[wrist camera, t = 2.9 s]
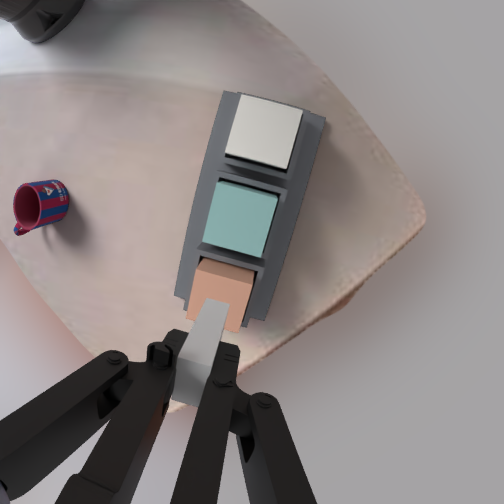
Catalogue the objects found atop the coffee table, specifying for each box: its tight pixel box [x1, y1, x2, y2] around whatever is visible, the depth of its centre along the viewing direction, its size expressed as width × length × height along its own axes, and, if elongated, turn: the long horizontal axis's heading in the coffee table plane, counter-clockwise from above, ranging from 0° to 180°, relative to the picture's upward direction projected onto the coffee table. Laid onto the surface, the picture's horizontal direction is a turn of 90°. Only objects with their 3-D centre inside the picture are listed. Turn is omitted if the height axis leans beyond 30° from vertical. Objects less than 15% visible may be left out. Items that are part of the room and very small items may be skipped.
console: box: [174, 91, 326, 328], centre depth 35 cm, size 28×13×6 cm, turn 165°
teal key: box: [202, 181, 278, 258], centre depth 31 cm, size 6×6×5 cm
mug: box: [13, 180, 69, 236], centre depth 35 cm, size 7×10×7 cm
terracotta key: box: [186, 257, 254, 333], centre depth 33 cm, size 6×6×5 cm
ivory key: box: [225, 94, 303, 169], centre depth 29 cm, size 6×6×5 cm
